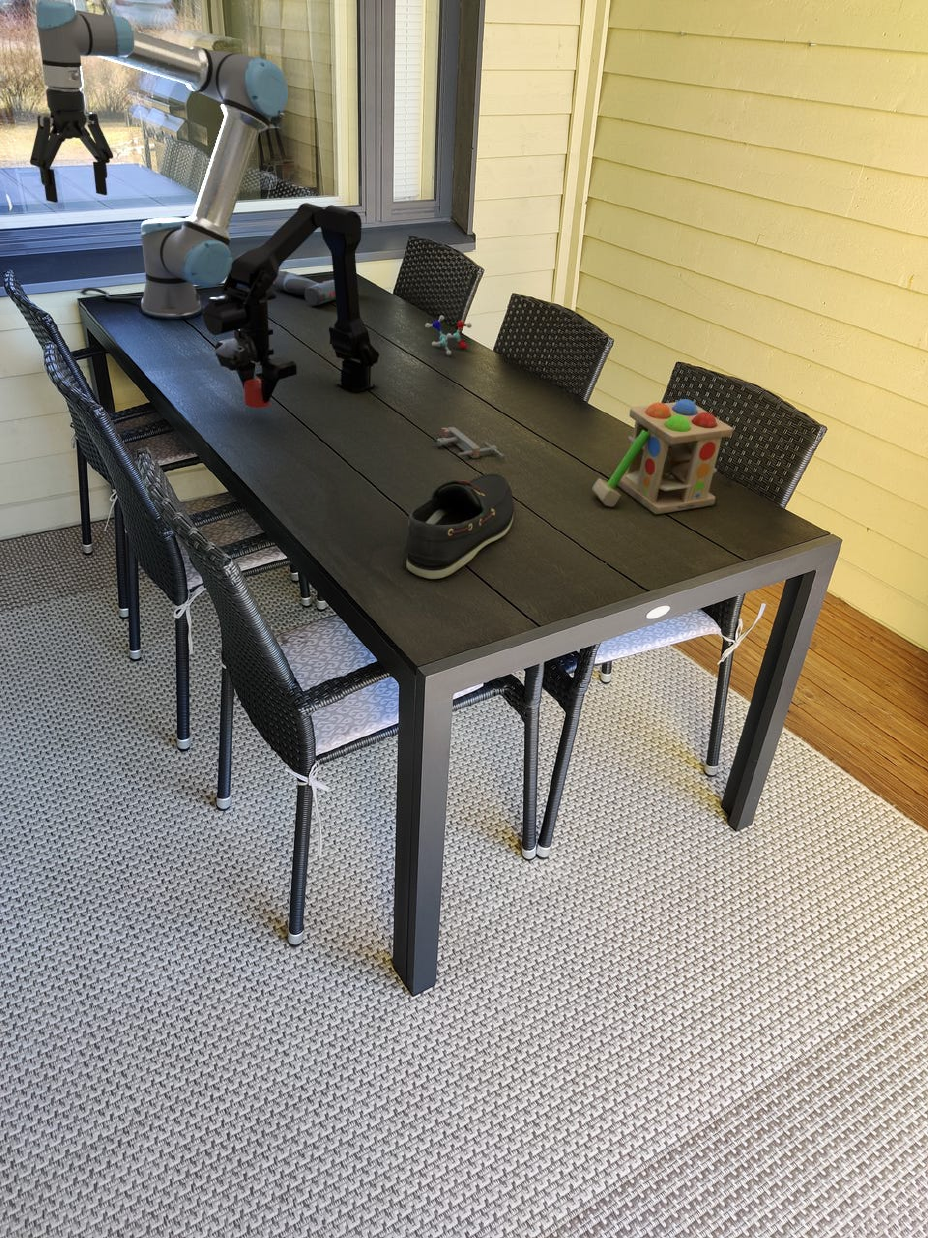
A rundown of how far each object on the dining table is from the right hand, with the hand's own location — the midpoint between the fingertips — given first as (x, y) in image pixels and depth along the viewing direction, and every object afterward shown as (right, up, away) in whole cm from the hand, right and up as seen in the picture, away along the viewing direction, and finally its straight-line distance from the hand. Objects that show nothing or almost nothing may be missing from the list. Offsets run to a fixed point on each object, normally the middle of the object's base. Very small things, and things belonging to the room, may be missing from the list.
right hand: (257, 398), depth 203 cm
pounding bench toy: (+79, -22, -12) cm, 82 cm away
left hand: (-42, +47, +12) cm, 64 cm away
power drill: (-1, +47, +78) cm, 92 cm away
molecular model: (+38, +24, +49) cm, 66 cm away
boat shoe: (+42, -31, -31) cm, 61 cm away
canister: (0, -1, +1) cm, 1 cm away
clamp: (+43, -11, -2) cm, 45 cm away
